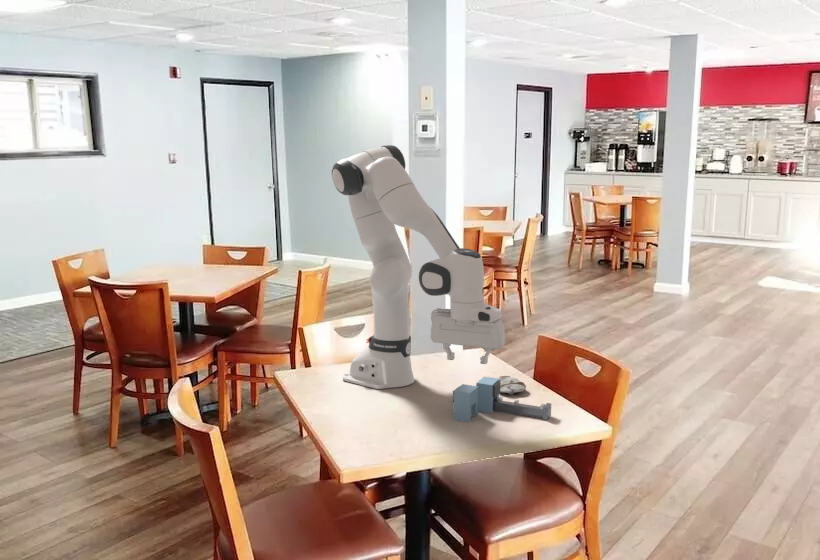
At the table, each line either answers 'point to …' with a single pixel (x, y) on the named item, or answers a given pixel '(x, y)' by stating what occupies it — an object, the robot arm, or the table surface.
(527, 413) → the rail
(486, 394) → the light blue rectangular block
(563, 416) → the table surface
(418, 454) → the table surface
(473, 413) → the light blue block
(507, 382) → the stone
